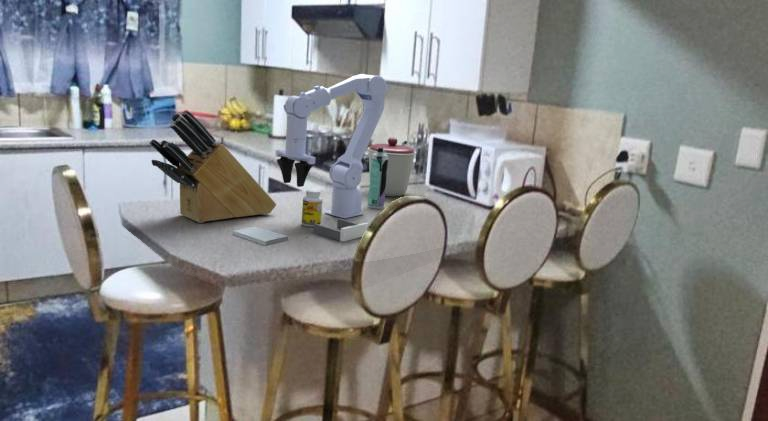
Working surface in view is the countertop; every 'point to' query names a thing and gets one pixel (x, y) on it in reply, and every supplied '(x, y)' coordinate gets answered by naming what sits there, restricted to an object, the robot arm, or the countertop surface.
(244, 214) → the knife block
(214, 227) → the countertop surface
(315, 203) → the supplement bottle
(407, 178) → the canister
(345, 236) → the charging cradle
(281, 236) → the hard drive
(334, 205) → the robot arm
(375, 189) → the spray can
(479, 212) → the countertop surface
